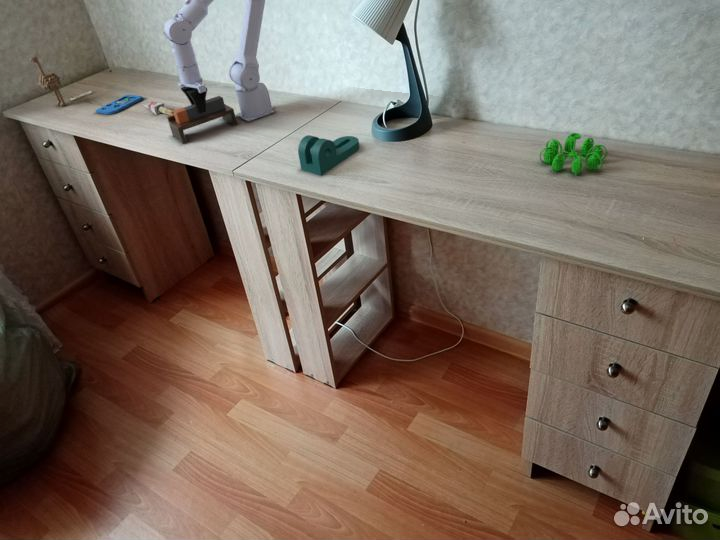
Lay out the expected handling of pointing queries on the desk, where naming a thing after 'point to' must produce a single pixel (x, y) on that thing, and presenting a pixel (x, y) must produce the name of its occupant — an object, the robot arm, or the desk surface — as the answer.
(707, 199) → the desk surface
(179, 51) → the robot arm
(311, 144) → the bracket
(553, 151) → the chandelier
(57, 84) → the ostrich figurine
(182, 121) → the marker
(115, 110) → the handheld gaming device
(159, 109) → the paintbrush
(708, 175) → the desk surface
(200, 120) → the shelf
